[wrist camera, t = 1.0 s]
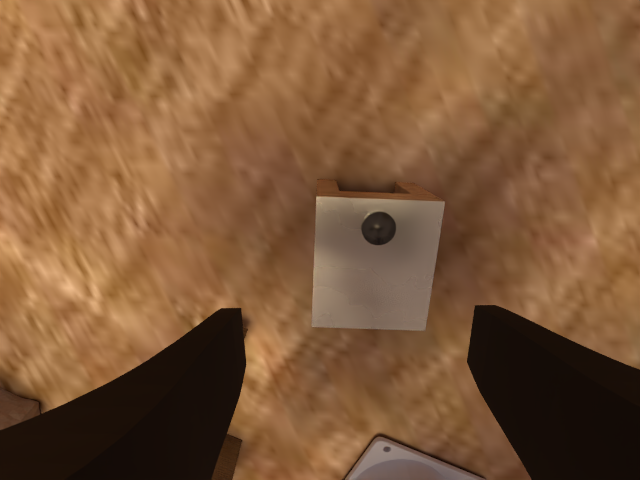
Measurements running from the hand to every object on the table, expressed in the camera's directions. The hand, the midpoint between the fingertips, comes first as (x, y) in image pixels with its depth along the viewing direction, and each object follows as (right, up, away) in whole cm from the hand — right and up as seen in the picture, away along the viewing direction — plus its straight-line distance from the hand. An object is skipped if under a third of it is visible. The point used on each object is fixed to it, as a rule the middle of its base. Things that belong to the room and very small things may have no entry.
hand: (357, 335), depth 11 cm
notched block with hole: (+1, +3, +9) cm, 10 cm away
